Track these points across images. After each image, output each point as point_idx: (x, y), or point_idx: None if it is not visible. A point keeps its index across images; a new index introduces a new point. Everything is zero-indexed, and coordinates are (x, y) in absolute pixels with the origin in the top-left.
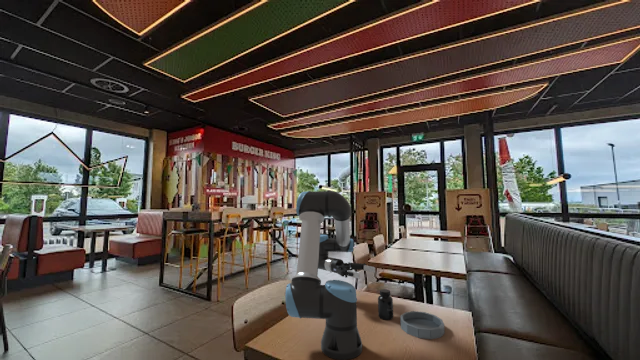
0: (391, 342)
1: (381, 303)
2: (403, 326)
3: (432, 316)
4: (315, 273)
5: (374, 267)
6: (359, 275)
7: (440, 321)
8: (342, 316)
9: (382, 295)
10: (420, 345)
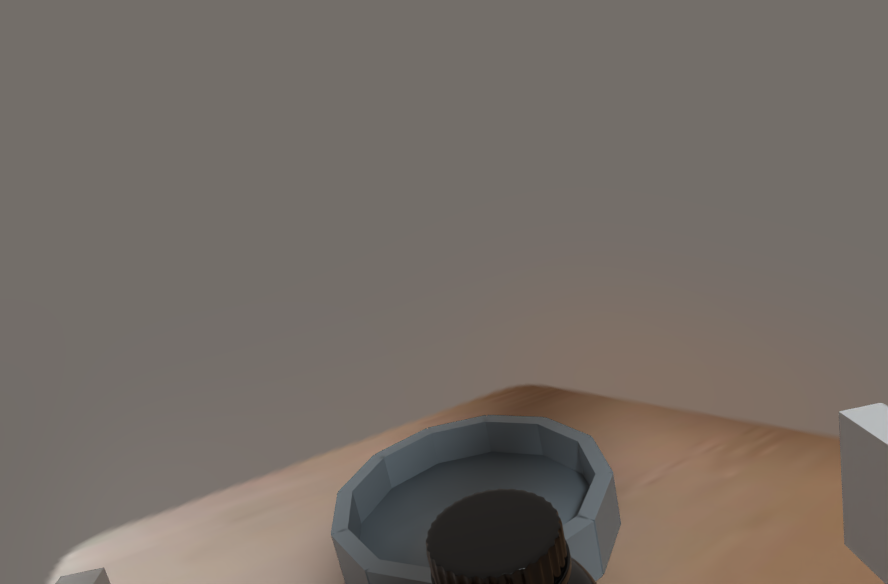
0: (803, 502)
1: None
2: (606, 529)
3: (353, 499)
4: None
5: (87, 577)
6: (854, 472)
7: (407, 445)
8: None
9: (567, 547)
10: (654, 447)
